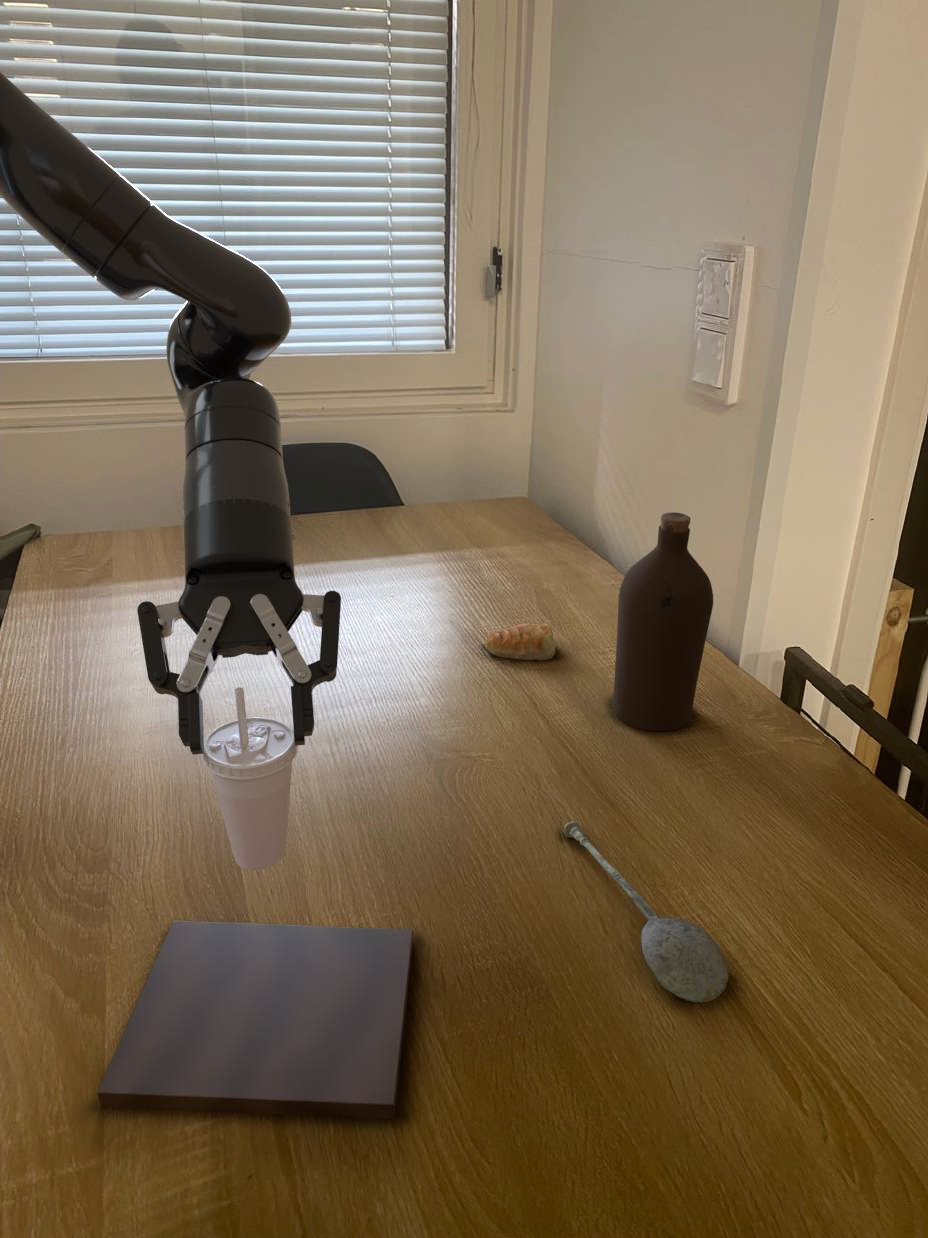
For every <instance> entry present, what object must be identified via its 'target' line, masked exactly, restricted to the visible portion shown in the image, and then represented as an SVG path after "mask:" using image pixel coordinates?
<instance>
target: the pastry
mask: <svg viewBox="0 0 928 1238" xmlns="http://www.w3.org/2000/svg"><path fill="white" fill-rule="evenodd" d="M484 645H485V646H484V648H485V649H486V650H487V651H488V652H489V653H491V654H492V655H494V656H496V657H497V658H500V657H501V658H505V659H507V658H508V659H512V660H522V661H534V660H537V661H546V660H550V659H553V656H555V654H556V645H555V640H554V633H553V628H552V625H551V624H548V623H547V622H543V623H541V624H537V623H524V622H523V623H522V622H521V623H519V624H516V625H515V626H511V627H509V628H502V629H500V630H498V631H495V632H492V633H490V634H489V635H488V636H487V638H486V639H485V643H484Z"/></svg>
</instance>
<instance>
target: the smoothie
mask: <svg viewBox="0 0 928 1238" xmlns="http://www.w3.org/2000/svg"><path fill="white" fill-rule="evenodd" d="M234 694H235V695H234V696H235V697H234V698H235V703H236V704H235V707H236V714H237V715H236V717H237V719H235V720H231V721H228V722H226V723H224V724H222V725H219V726H217V727H215V728H214V729H213V730H211V731H210V732H209V733H208V734H207V735H206V736H205V737H204V754H201V755H202V763H203V765H204V766H205V768H206V770H208V771H209V772H210V775H211V776H210V777H211V780H212V784H213V786H214V790H215V793H216V797H217V801H218V803H219V804H218V805H219V808H220V813H221V816H222V819H223V822H224V827H225V830H226V833H227V837H228V841H229V844H230V848H231V852H232V855H233V858H234V861H235V863H236V864H237V865H238V866H239V867H241V868H243V869H245V870H249V871H260V870H266V869H270V868H272V867H274V866H276V865H277V864H279V863H280V862H282V860H283V859H284V858H285V856H286V852H287V843H288V841H287V839H288V826H289V811H290V799H291V798H290V797H291V785H292V772H293V761H294V759H295V758H296V757H297V753H298V749H299V748H298V746H295V742H294V729H292V727H290V725H288V724H287V723H284V722H282V721H280V720H277V719H275V718H269V717H247V711H246V702H245V691H244V688H243V687H236V688H235V689H234Z"/></svg>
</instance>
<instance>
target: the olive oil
mask: <svg viewBox="0 0 928 1238" xmlns="http://www.w3.org/2000/svg"><path fill="white" fill-rule="evenodd" d="M690 524H691V517H690V516H689V515H687V514H685V513H681V512H673V511H672V512H665V513H663V514H661V516H660V524H659V527H658V531H657V543H656V546H655V547H654V548H653V549H652V550H651V551H650V552H648V553H647V554H646V555H644V556H643V557H642V558H641V559H639V560H638V561H637V562H636V563H634V564H633V565H632V566H631V567H630V568H629V569H628V570H627V572H626V573H625V576H624V577H623V580H622V582H621V584H620V586H619V587H620V588H619V592H618V601H617V603H618V604H617V625H616V645H615V646H616V647H615V649H616V650H615V662H614V682H613V695H612V711H613V713H614V715H615V716H616V717H617V718H618V719H619V720H620V721H621V722H622V723H624V724H626V725H628V726H630V727H633V728H635V729H638V730H642V731H646V732H653V733H665V732H672V731H676V730H679V729H681V728H683V727H685V726H686V725H687V724H688V723H689V722H690V720H691V718H692V712H693V707H694V701H695V697H696V690H697V684H698V679H699V675H700V671H701V670H700V669H701V664H702V660H703V654H704V650H705V645H706V641H707V636H708V631H709V626H710V622H711V617H712V612H713V609H714V608H713V607H714V591H713V587H712V582H711V580H710V578H709V576H708V574H707V573H706V572H705V570H704V569H703V568H702V566H701V565H700V564H699V563H698V561H697V560H696V559H695V558H694V557H693V556H692V554H691V553H690V551H689V549H688V546H689V545H688V544H689V540H690V532H691V529H690Z"/></svg>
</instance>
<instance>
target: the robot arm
mask: <svg viewBox="0 0 928 1238" xmlns="http://www.w3.org/2000/svg"><path fill="white" fill-rule="evenodd" d="M0 197H1V198H2V199H3V200H4V201H5V202H6V203H7V204H8V205H9V206H10V208H12V209H13V210H14V211H15V212H16V214H17V215H19V216H20V217H21V218H22V219H23V220H24V222H26V223H27V224H28V225H29V226H30V227H31V228H32V229H33V230H35V232H37V233H38V234H39V235H40V236H41V237H42V238H44V239H45V240H46V242H47V243H49V244H51V245H52V246H53V247H54V248H56V249H57V251H59V252H60V253H62V254H63V255H64V256H66V257H67V259H69V260H70V261H72V262H73V263H74V264H75V265H77V266H78V267H79V268H81V269H82V270H83V271H84V272H85V273H87V274H88V275H89V276H90V277H92V278H93V279H96V281H97V283H99V284H100V285H102V286H103V287H104V288H106V290H108V291H110V292H111V293H113V295H115V296H117V297H119V298H120V299H122V300H126V301H137V300H139V299H141V298H143V297H145V296H146V295H148V294H149V293H151V292H153V291H155V290H162V291H165V292H167V293H170V294H173V295H175V296H176V297H178V298H181V299H182V300H185V301H186V302H185V303H184V305H183V306H182V307H180V309H179V311H178V312H177V313H176V314H175V316H174V317H173V319H172V321H171V323H170V325H169V329H168V333H167V337H166V348H165V349H166V361H167V366H168V370H169V373H170V376H171V380H172V383H173V387H174V390H175V393H176V397H177V399H178V402H179V405H180V407H181V410H182V413H183V415H184V452H185V453H184V454H185V455H184V456H185V470H184V478H183V487H182V507H183V508H182V509H183V544H184V545H183V546H184V575H185V576H184V577H185V578H184V579H185V585H184V589H183V592H182V593H181V595H180V597H179V599H178V601H174V602H168V603H164V604H158V605H155V604H154V603H153V602H152V601H149V600H146V601H142V602H140V603H139V604H138V606H137V609H136V612H137V618H138V625H139V631H140V636H141V643H142V648H143V654H144V660H145V667H146V675H147V680H148V681H149V683H150V685H151V686H152V688H153V690H154V691H155V692H156V693H157V694H159V695H169V696H172V697H175V698H176V699H177V713H178V714H177V716H178V717H177V719H178V737H179V739H180V741H181V743H182V744H183V746H184V747H189V751H190V752H191V754H192V755H193V756H195V755H203V754H204V739H205V735H204V709H203V707H204V705H203V704H204V703H203V699H202V697H201V695H200V694H201V693H202V690H203V688H204V686H205V684H206V682H207V679H208V678H209V676H210V675H211V674H212V672H213V671H214V669H215V666H216V664H217V662H218V660H219V658H220V656H221V657H222V658H223V659H226V658H236V657H238V656H241V655H245V654H247V655H252V656H253V655H254V656H267V655H269V653H270V652H271V653H272V655H273V656H274V658H275V659H276V661H277V662H278V664H279V666H280V667H281V668H282V669H283V670H284V673H285V674H286V675H287V677H288V679H289V680H290V683H291V684H292V685H290V696H291V697H290V698H291V710H292V711H291V713H292V726H293V731H294V742H295V746H297V747H298V746H305V745H306V738H305V737H312V736H313V733H314V730H315V717H314V716H315V715H314V703H313V691H314V689H315V687H317V686H319V685H321V684H323V683H330V682H333V681H334V680H335V679H336V678H337V671H338V658H339V643H340V641H339V640H340V625H341V624H340V623H341V609H342V608H341V605H342V597H341V594H340V593H339V592H338V591H336V590H329V591H327V592H325V594H324V595H323V594H305V593H303V592H302V590H301V588H300V587H299V585H298V584H297V582H296V572H295V559H294V546H293V545H294V544H293V530H292V508H291V503H290V501H291V500H290V492H289V483H288V479H287V475H286V471H285V466H284V465H285V464H284V453H283V440H282V424H281V423H282V422H281V416H280V411H279V406H278V403H277V401H276V399H275V397H274V395H273V394H272V392H271V391H270V390H269V389H268V388H267V387H266V386H265V385H263V384H261V383H260V382H258V381H255V380H252V379H251V375H252V373H253V372H254V371H255V370H256V369H257V368H258V367H259V366H260V365H261V364H262V363H263V362H265V360H266V359H267V358H268V357H269V356H271V354H272V353H274V351H276V350H277V349H278V348H279V346H281V345H282V343H284V341H285V340H286V338H287V336H288V335H289V333H290V331H291V327H292V312H291V308H290V305H289V302H288V299H287V297H286V294H284V291H283V290H282V289H281V287H280V286H279V284H278V283H277V282H276V281H275V279H274V278H273V277H272V276H271V275H270V274H269V273H268V272H267V271H266V270H265V269H263V268H262V267H260V266H259V265H258V264H257V263H256V262H253V261H252V260H250V259H249V258H248V257H247V258H246V257H245V256H244V255H242V254H239V253H238V252H237V251H234V250H232V249H230V248H229V247H227V246H224V245H222V244H221V243H219V242H217V241H215V240H213V239H211V238H209V237H208V236H206V235H204V234H202V233H200V232H198V231H197V230H195V229H193V228H191V227H189V226H186V225H185V224H182V223H181V222H179V221H177V220H175V219H173V218H172V217H170V216H169V215H167V214H166V213H165V212H163V210H162V209H161V208H160V207H158V205H156V204H154V203H153V201H152V200H150V199H149V198H148V197H147V196H146V195H145V194H144V193H142V192H141V191H140V190H139V189H138V188H137V187H136V186H134V185H133V184H132V183H131V182H129V180H127V179H126V178H125V177H124V176H122V175H121V174H120V173H119V172H118V171H117V170H116V169H114V167H112V166H111V165H110V164H108V163H107V162H106V161H105V160H104V159H103V158H101V156H99V154H97V153H96V152H94V150H92V149H91V148H90V147H89V146H87V145H86V144H85V143H84V142H82V141H81V140H80V139H79V138H78V137H77V136H75V135H74V134H73V133H71V131H69V130H68V129H67V128H66V127H65V126H63V125H62V124H61V123H60V122H59V121H58V120H56V119H55V118H54V117H52V115H50V114H49V113H48V112H47V111H46V110H44V109H43V108H42V107H41V106H40V105H38V104H37V103H36V102H35V101H34V100H32V98H30V96H28V95H26V93H24V92H23V91H22V90H21V89H20V88H18V86H17V85H15V84H14V83H13V82H12V81H11V80H10V79H9V78H8V77H7V76H6V75H5V74H4V73H3V72H2V71H0ZM303 612H306V613H308V614H309V616H310V621H311V623H312V625H314V627H317V628H321V635H320V648H319V649H320V650H319V659H318V660H316V661H313V662H312V663H309V664H307V662H306V661H305V659H304V657H303V655H302V654H301V653H300V651H299V649H298V647H297V645H296V642H295V641H294V639H293V637H292V635H291V634H290V633H289V632H290V630H291V629H292V627H293V626H294V624H295V623H296V621H297V619H298V618H299V617H300V615H301V614H302V613H303ZM180 619H182V620H183V621H184V622H185V623H186V625H188V627H189V628H190V629H191V630H192V632H193V633H194V634H195V635H196V637H195V639H194V641H193V643H192V645H191V647H190V649H189V652H188V656H187V660H186V661H185V663H184V666H183V667H182V669H181V672H180V673H176V672H173V671H171V668H170V663H169V658H168V650H167V646H166V645H167V644H166V640H165V638H168V637H170V636H171V635H173V633H174V630H175V624H176V623H177V621H179V620H180Z"/></svg>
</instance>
